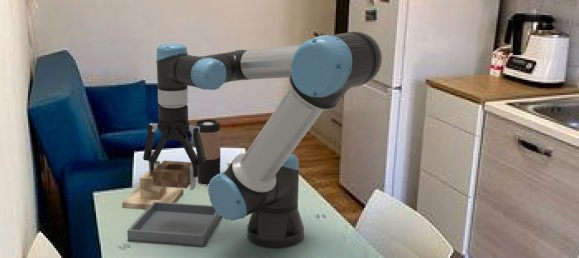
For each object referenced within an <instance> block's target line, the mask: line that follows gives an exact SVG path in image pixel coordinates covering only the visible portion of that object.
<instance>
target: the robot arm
mask: <svg viewBox="0 0 579 258" xmlns="http://www.w3.org/2000/svg"><path fill="white" fill-rule="evenodd" d="M381 51H382V50H381V47H380V46H379V43H378V42H377V41H376V40H375V39H374V38H373V37H372V36H370V35H369V34H367V33H364V32H362V31H349V32H344V33H338V34H332V35H330V34H329V35H328V34H325V35H318V36H315V37H313V38H310V39H308V40H306V41H305V42H303V43H301V44H299V45H298V44H297V45H287V46H286V45H285V46H278V47H277V46H276V47H275V46H274V47H267V48H265V47H264V48H257V49H256V48H255V49H238V50H237V49H236V50H234V51H233V50H232V51H228V52H222V53H217V54H216V53H214V54H209V55H202V56H201V55H198V56H197V55H191V54H188V50H187V46H186V45H185V44H182V43H172V42H171V43H164V44H163V43H162V44H159V45H158V46H157V48H156V60H155V63H156V76H157V78H156V79H157V80H156V81H157V102H158V104H159V105H158V107H157V108H158V122H157V123H154V122H151V123H149V124H148V125H147V126H146V130H147V137H146V140H145V141H146V143H145V146H144V152H143V156H142V158H143V161H144V162H145V161H147V162H148V163H149V162H150V164H151V174H153V170H154V169H156V168H157V167H158V166H159V165H160V164H161V161H160V160H158V159H159V156H160V154H161V152H162V151H163V148H164V147H165V144H166V142H167V141H173V140H174V141H179V143H180V145H182V147H183V148H184V151H185V153H186V155H187V157H188V159H189V160H190V161H189V162H191V163H192V164H191V166H190V185H189V190H190V191H194V189H195V188H196V186H197V184H196V183H197V181H196V180H197V179H196V178H198V175H199V165H200V164H203V163H204V162H205V161H206V157H205V153H204V149H203V145H202V141H201V137H200V129H201V128H200V126H194V125H191V124H190V122H189V106H188V102H189V101H188V100H189V98H188V96H189V93H188V91H189V90H188V89H189V87H193V88H197V89H201V90H205V91H206V90H209V91H210V90H211V91H216V90H218V89H220V88H221V86H223V85H224V84H226V83H229V82H236V81H237V82H238V81H249V80H250V81H251V80H265V79H268V80H269V79H283V78H284V79H287V78H288V81H289V85H290V88H288V89H289V90H288V91H287V92H286V94H285V95H284V97H283V98H282V99H281V101H280V102H279V104H278V105H277V107H276V109H275V110H274V111H273V112H272V113H271V116H270V117H269V118H268V120H267V121H266V123H265V124H264V125H263V127H262V129H261V130H260V131H259V133H258V135H257V136H256V137H255V138H254V140H253V142H252V143H251V145H250V146H249V147H248V149H247V151H246V152H245V153H239V154H237V155H236V156H235V157H234V158H233V159H232V160H233V161H232V163H231V164H230V166H229V167H228V166H227V168H228V169H227V170H226V169H225V170H224V172H222V173H221V172H220V174H217V175H216V176H214V177H213V178H212V179H211V180H210V183H209V185H207V188H208V189H207V190H208V191H207V192H208V196H209V201H210V203H211V206H213V208H214V209H215V211H216V212H217V213H218V214H219V215H220V216H221V218H223V219H225V220H227V221H231V222H233V221H237V220H242V219H245V218H246V216H249V215H250V217H249V221H248V223H247V225H246V237H247V239H248V240H249V241H250V242H251V243H253V244H255V245H257V246H261V247H264V248H274V249H276V248H279V249H280V248H287V247H291V246H294V245H296V244H299V243H300V242H302V240H303V239H304V238H305V226H304V223H303V220H302V217H301V214H300V211H299V181H300V175H299V174H300V170H301V169H300V163H299V157H298V156H297V155H296V154H294V153H293V152H294V151H295V149H296V148H297V146H298V145H299V144H300V142H302V140H303V138H304V137H305V136H306V135H307V133H308V132H309V130H310V129H311V128H312V126H313V125H314V124H315V122H316V121H317V120H318V118H319V117H320V116H321V114H322V113H323V111H331V110H333V109H334V108H335V107H336V106H337V105H338V104H339V102H341V100H342V98H343V97H344V96H345V95H346V93H347V92H348V91H349V90H350V89H352V88H357V87H359V86H362V85H365V84H368V83H369V82H370V81H372V80H373V79H374V78H375V77H376V76H377V74H378V72H379V71H380V69H381V67H382V63H383V62H382V61H383V56H382V52H381ZM188 86H189V87H188ZM157 130H158V131H160V134H161V136H160V138H159V141H158V143H157V145H156V147H155V149H154V150H153V146H154V140H155V135H156V132H157ZM189 131H190V134H191V135H192V138H193V139H192V140H193V144H194V147H195V149H194V147H193V145H192V144H191V142H190V139H189V136H188V134H187V133H188V132H189ZM195 150H196V152H195ZM152 151H154V153H153V155H151V152H152ZM197 156H198V157H197ZM155 187H158V186H155Z"/></svg>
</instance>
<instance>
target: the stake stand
mask: <svg viewBox="0 0 579 258" xmlns="http://www.w3.org/2000/svg"><path fill="white" fill-rule="evenodd" d="M154 151H155V150H152V152H151V155H153V153H154ZM138 179H139V186H138V187H137V188H136V189H135V190H134V191H133V192H132V193H131V194H130V195H128V197H127V198H125V199H124V200H123V202H122V204H121V205H122V208H125V209H141V210H147V209H148V207H149V206H150V205H151V204H152V203H153V202H167V203H177V202H178V201H179V200H180V198H181V197H182V196H183V195H184V188H175V187H161V186H158V187H155V186H153V174H151V164H150V162H149V161H148V171H145V172H144V173H143V174H142V175H141V176H140V177H139V178H138ZM181 195H182V196H181ZM177 200H178V201H177Z"/></svg>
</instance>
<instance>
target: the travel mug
mask: <svg viewBox="0 0 579 258" xmlns="http://www.w3.org/2000/svg"><path fill="white" fill-rule="evenodd" d="M195 125H196V126H200V128H201V129H200V137H201V141H202V145H203V149H204V153H205V157H206V161H205V162H204V163H203V164H200V165H199V175H198V177H197V182H198V183H199V184H200V183H201V184H200V185H202V184H207V185H206V186H209V185H208V184H209V183H210V180H211V179H212V178H213V177H214V176H216V175H217V174H220V173H221V123H220V122H218V121H217V120H216V119H210V118H209V119H201V120H198V121H196V123H195ZM197 157H198V156H197Z"/></svg>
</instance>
